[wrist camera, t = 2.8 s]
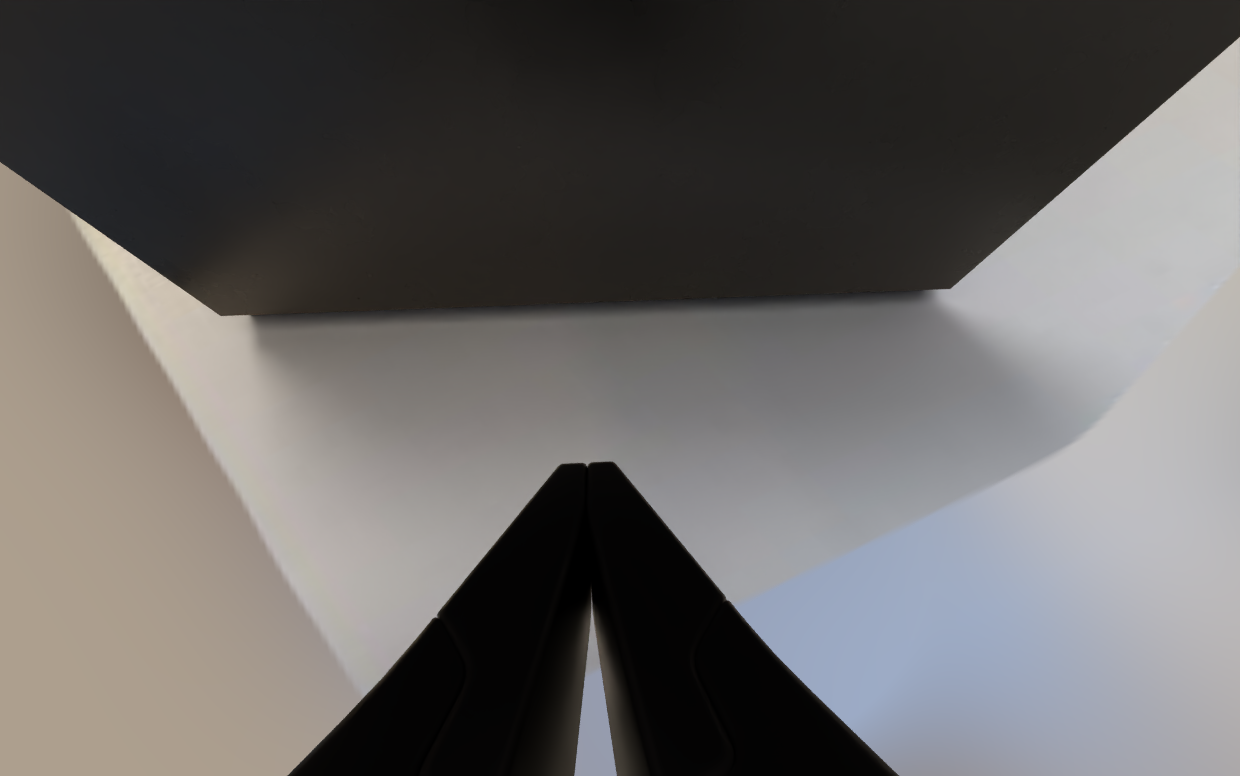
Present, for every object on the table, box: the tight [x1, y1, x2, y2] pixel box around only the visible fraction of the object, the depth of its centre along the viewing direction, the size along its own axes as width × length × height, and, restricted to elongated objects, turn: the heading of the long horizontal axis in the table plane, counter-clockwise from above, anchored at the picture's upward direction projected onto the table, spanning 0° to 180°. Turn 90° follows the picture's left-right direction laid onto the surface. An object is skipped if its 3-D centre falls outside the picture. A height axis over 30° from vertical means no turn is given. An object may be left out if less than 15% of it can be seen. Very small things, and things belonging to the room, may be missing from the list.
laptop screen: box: [0, 0, 1240, 316], centre depth 12 cm, size 21×30×1 cm
